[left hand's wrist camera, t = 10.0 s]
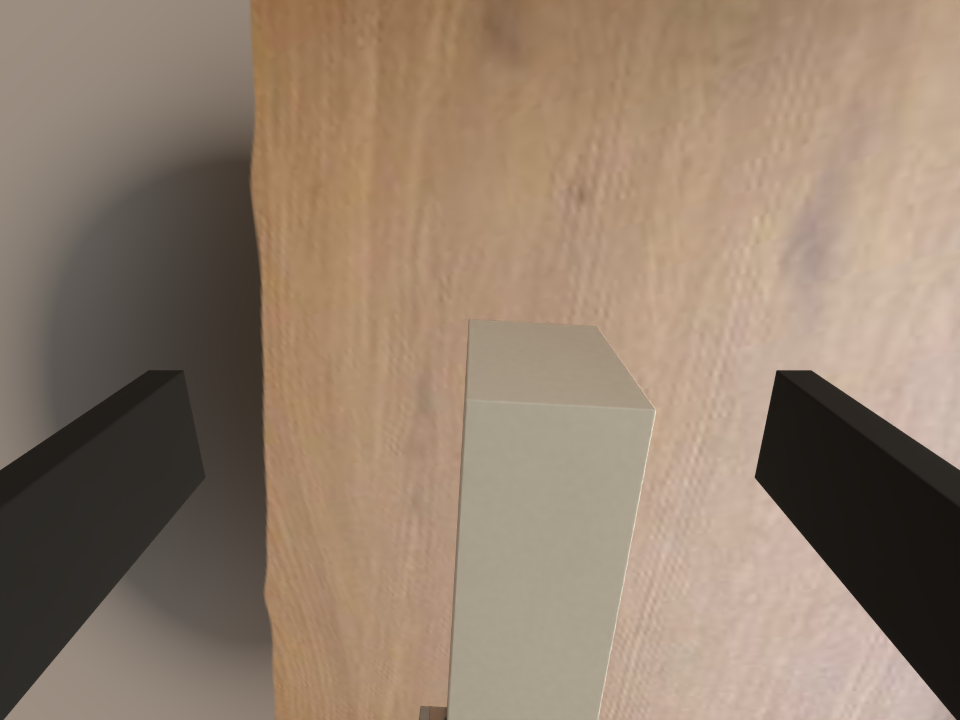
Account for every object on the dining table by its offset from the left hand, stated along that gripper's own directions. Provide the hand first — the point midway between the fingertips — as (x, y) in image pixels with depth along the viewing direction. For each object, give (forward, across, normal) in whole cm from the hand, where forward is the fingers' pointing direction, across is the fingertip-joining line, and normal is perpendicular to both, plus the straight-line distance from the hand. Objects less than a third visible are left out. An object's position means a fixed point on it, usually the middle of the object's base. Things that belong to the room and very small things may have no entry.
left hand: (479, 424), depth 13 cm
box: (+14, +2, -14) cm, 20 cm away
